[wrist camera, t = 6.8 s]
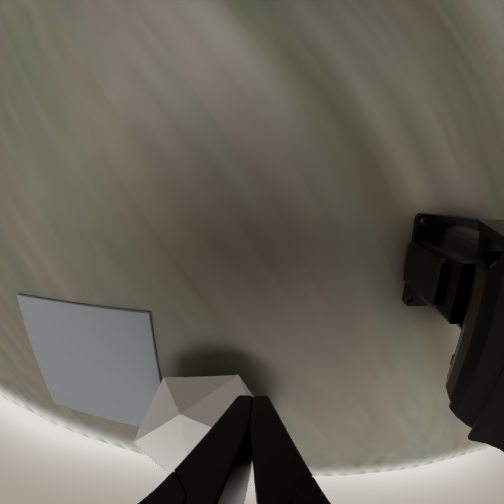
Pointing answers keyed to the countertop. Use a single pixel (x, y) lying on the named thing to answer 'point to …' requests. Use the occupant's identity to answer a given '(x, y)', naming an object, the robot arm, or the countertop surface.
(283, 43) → the countertop surface
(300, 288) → the countertop surface
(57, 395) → the mat
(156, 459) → the die
